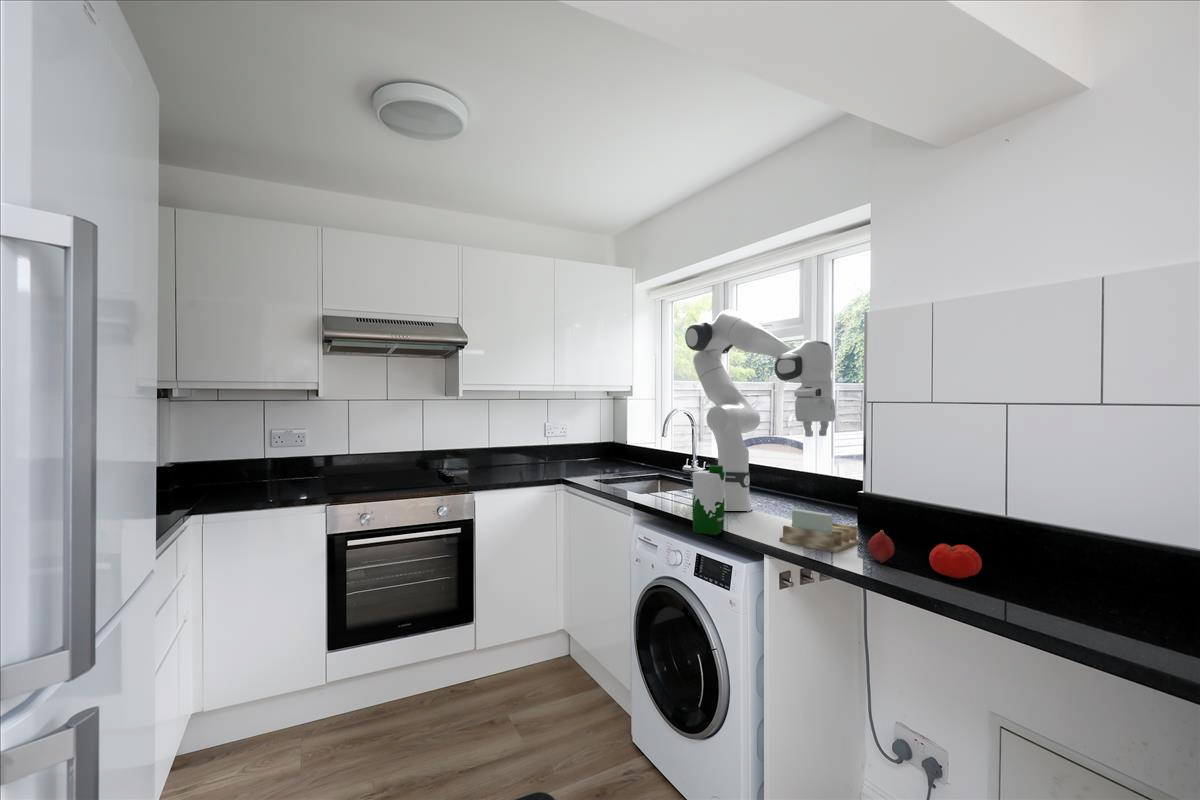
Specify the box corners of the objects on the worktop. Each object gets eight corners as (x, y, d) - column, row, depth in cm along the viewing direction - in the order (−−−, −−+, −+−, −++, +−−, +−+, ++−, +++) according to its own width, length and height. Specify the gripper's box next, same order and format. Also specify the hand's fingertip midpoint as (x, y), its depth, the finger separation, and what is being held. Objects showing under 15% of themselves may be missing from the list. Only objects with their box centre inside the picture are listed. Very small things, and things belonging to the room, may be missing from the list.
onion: (862, 560, 135) (862, 528, 135) (879, 558, 137) (880, 526, 137) (882, 566, 130) (882, 533, 130) (899, 564, 132) (900, 531, 132)
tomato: (925, 575, 124) (925, 546, 124) (935, 565, 132) (935, 538, 132) (977, 585, 117) (977, 555, 117) (984, 574, 125) (984, 546, 126)
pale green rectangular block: (791, 538, 152) (792, 510, 152) (796, 537, 154) (797, 509, 154) (827, 545, 145) (827, 515, 145) (832, 544, 147) (832, 514, 147)
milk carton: (717, 536, 157) (718, 467, 158) (688, 532, 162) (689, 465, 162) (727, 530, 165) (728, 465, 165) (699, 527, 170) (700, 463, 170)
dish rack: (779, 541, 153) (779, 525, 153) (805, 532, 164) (805, 518, 164) (836, 552, 141) (836, 535, 142) (860, 543, 152) (860, 527, 152)
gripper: (821, 393, 178) (820, 435, 178) (791, 390, 164) (790, 436, 164) (840, 392, 174) (840, 436, 173) (811, 390, 160) (811, 437, 159)
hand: (816, 436), depth 169 cm, fingers open, 8 cm apart
